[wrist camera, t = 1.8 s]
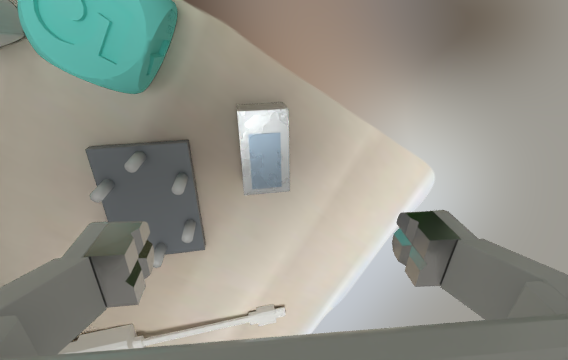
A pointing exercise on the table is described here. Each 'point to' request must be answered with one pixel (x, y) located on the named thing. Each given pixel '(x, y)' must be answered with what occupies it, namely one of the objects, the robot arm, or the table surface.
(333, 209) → the table surface
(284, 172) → the block
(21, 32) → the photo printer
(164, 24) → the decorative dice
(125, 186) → the peg board
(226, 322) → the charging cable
